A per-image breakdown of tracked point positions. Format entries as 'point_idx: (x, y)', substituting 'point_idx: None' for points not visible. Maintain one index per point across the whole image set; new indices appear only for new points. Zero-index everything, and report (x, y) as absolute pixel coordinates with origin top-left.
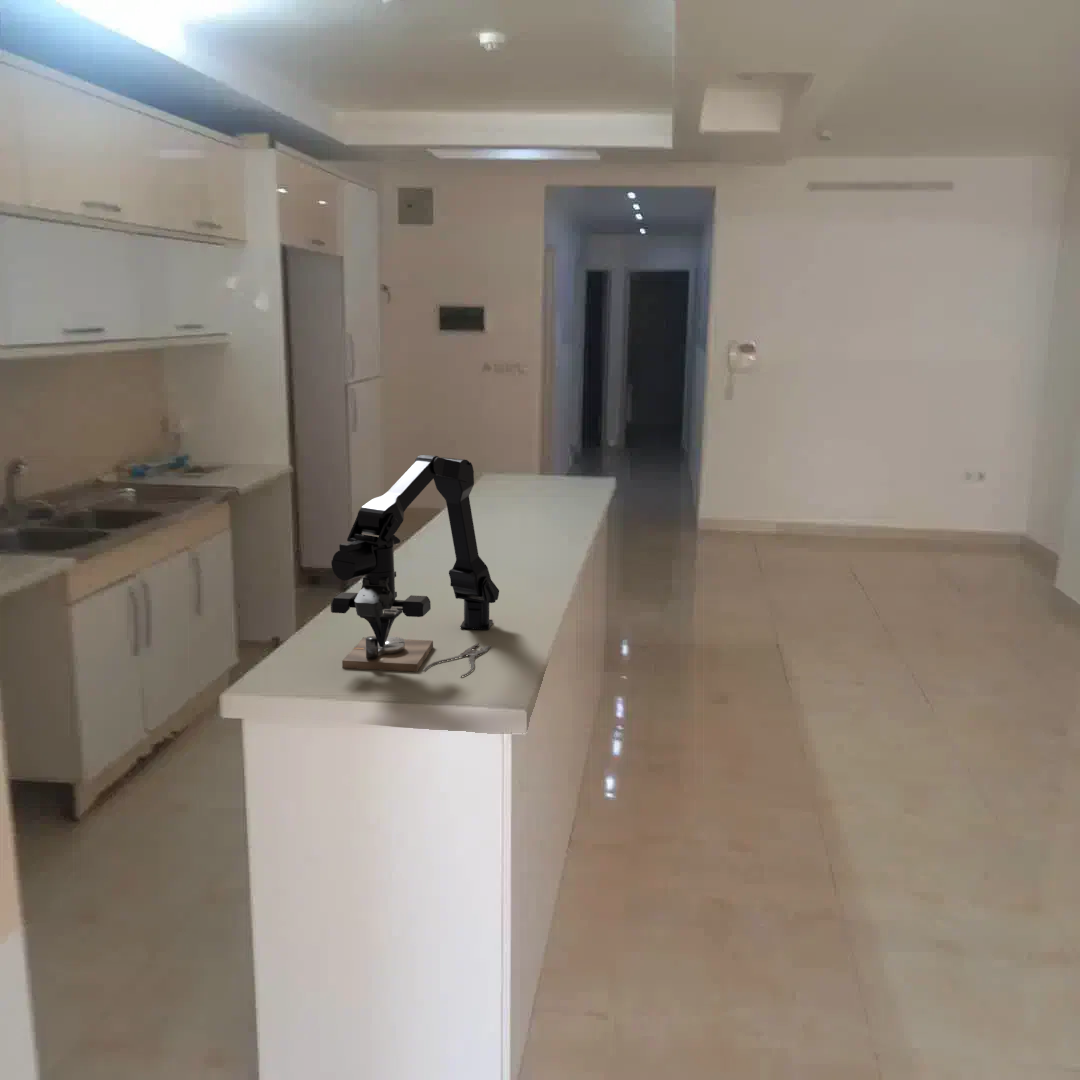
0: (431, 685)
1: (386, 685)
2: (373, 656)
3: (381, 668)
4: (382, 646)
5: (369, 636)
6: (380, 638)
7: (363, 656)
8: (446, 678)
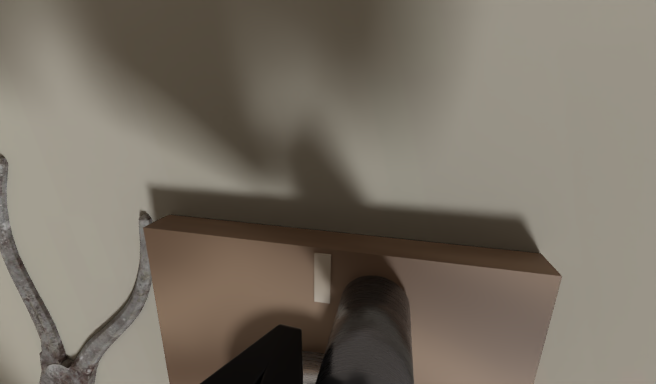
0: (55, 45)
1: (237, 2)
2: (357, 286)
3: (320, 232)
4: (282, 325)
5: None
6: (266, 370)
7: (432, 336)
8: (41, 143)
